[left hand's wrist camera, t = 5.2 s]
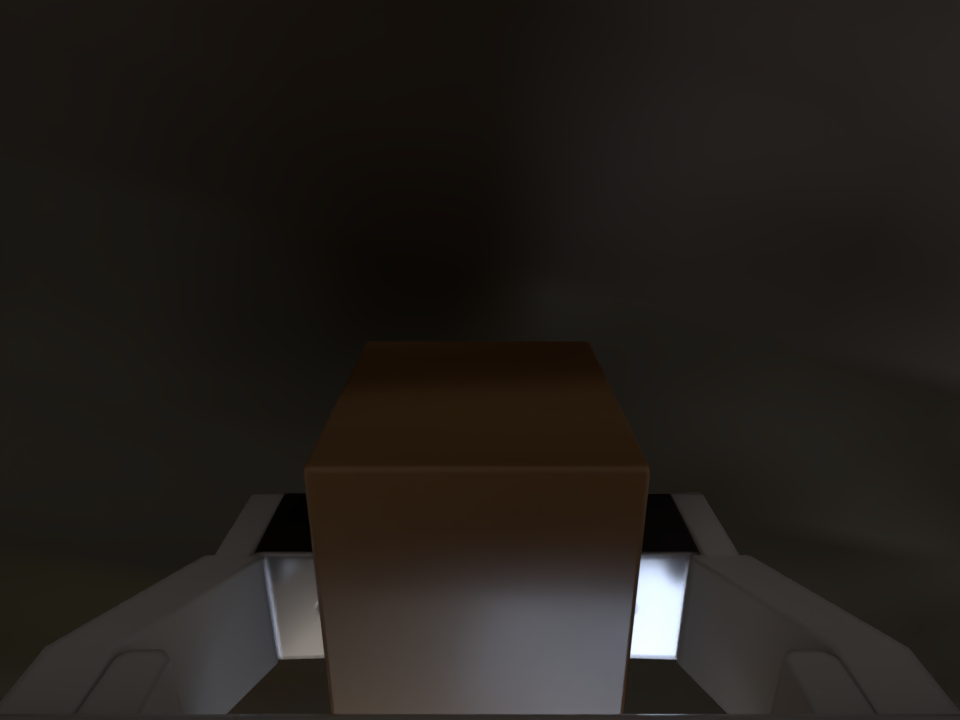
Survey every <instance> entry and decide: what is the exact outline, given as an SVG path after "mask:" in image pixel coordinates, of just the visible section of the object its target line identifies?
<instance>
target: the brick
mask: <svg viewBox="0 0 960 720" xmlns="http://www.w3.org/2000/svg"><path fill="white" fill-rule="evenodd" d="M650 471H651V470H650V468H649V465H648V463H647V461H646V459H645V457H644V455H643V453H642V451H641V449H640V447H639V445H638V443H637V441H636V438H635V436H634V434H633V432H632V430H631V428H630V426H629V424H628V422H627V420H626V418H625V416H624V414H623V412H622V410H621V408H620V405H619V403H618V401H617V399H616V397H615V395H614V393H613V391H612V389H611V387H610V385H609V383H608V381H607V379H606V377H605V375H604V372H603V370H602V368H601V366H600V364H599V362H598V360H597V358H596V356H595V354H594V352H593V350H592V348H591V346H590V344H589V343H588V342H368V343H366V345H365V347H364V349H363V351H362V353H361V355H360V357H359V359H358V361H357V363H356V365H355V367H354V369H353V371H352V373H351V375H350V377H349V379H348V381H347V383H346V385H345V387H344V389H343V391H342V393H341V395H340V397H339V399H338V401H337V403H336V405H335V407H334V409H333V411H332V413H331V415H330V417H329V419H328V421H327V423H326V425H325V427H324V429H323V431H322V433H321V435H320V437H319V439H318V441H317V443H316V445H315V447H314V449H313V451H312V453H311V455H310V457H309V459H308V461H307V463H306V465H305V467H304V470H303V473H304V482H305V491H306V499H307V508H308V517H309V526H310V534H311V543H312V552H313V561H314V570H315V578H316V587H317V596H318V605H319V614H320V622H321V631H322V640H323V649H324V657H325V666H326V675H327V684H328V693H329V701H330V710H331V714H624V708H625V699H626V690H627V681H628V672H629V663H630V654H631V644H632V635H633V626H634V617H635V608H636V599H637V590H638V581H639V571H640V562H641V553H642V544H643V535H644V526H645V517H646V507H647V498H648V489H649V480H650Z"/></svg>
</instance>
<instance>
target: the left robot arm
mask: <svg viewBox="0 0 960 720" xmlns="http://www.w3.org/2000/svg"><path fill="white" fill-rule="evenodd" d="M307 658H325V657H324V649H323V640H322V631H321V622H320V614H319V605H318V596H317V587H316V578H315V570H314V561H313V552H312V543H311V534H310V526H309V517H308V508H307V499H306V493H288V494H286V493H256V494H254V495H252V496H251V497H250V498H249V500H248V501H247V503H246V505H245V506H244V508H243V510H242V511H241V513H240V514H239V516H238V518H237V519H236V521H235V523H234V524H233V526H232V528H231V529H230V531H229V532H228V534H227V536H226V537H225V539H224V541H223V542H222V544H221V546H220V547H219V549H218V550H217V552H216V554H215V555H205V556H203V557H201V558H199V559H198V560H196V561H194V562H192V563H191V564H189V565H187V566H186V567H184V568H182V569H180V570H179V571H177V572H175V573H173V574H172V575H170V576H168V577H166V578H165V579H163V580H161V581H159V582H158V583H156V584H154V585H152V586H151V587H149V588H147V589H145V590H144V591H142V592H140V593H138V594H137V595H135V596H133V597H131V598H130V599H128V600H126V601H124V602H123V603H121V604H119V605H118V606H116V607H114V608H112V609H111V610H109V611H107V612H105V613H104V614H102V615H100V616H98V617H97V618H95V619H93V620H91V621H90V622H88V623H86V624H84V625H83V626H81V627H79V628H77V629H76V630H74V631H72V632H70V633H69V634H67V635H65V636H63V637H62V638H60V639H58V640H56V641H55V642H53V643H51V644H50V645H48V646H46V647H45V648H44V649H43V650H42V652H41V653H40V654H39V655H38V656H37V658H36V659H35V660H34V661H33V663H32V664H31V665H30V666H29V667H28V669H27V670H26V671H25V672H24V673H23V675H22V676H21V677H20V678H19V679H18V681H17V682H16V683H15V684H14V686H13V687H12V688H11V689H10V690H9V692H8V693H7V694H6V695H5V696H4V698H3V699H2V700H1V701H0V720H960V711H959V710H958V709H957V707H956V706H955V705H954V704H953V703H952V701H951V700H950V699H949V698H948V696H947V695H946V694H945V693H944V691H943V690H942V689H941V688H940V686H939V685H938V684H937V683H936V681H935V680H934V679H933V678H932V676H931V675H930V674H929V673H928V672H927V670H926V669H925V668H924V667H923V665H922V664H921V663H920V662H919V660H918V659H917V658H916V657H915V655H914V654H913V653H912V652H911V650H910V649H909V648H908V647H906V646H904V645H903V644H901V643H899V642H897V641H896V640H894V639H892V638H891V637H889V636H887V635H885V634H884V633H882V632H880V631H879V630H877V629H875V628H873V627H872V626H870V625H868V624H866V623H865V622H863V621H861V620H860V619H858V618H856V617H854V616H853V615H851V614H849V613H848V612H846V611H844V610H842V609H841V608H839V607H837V606H835V605H834V604H832V603H830V602H829V601H827V600H825V599H823V598H822V597H820V596H818V595H817V594H815V593H813V592H811V591H810V590H808V589H806V588H804V587H803V586H801V585H799V584H798V583H796V582H794V581H792V580H791V579H789V578H787V577H786V576H784V575H782V574H780V573H779V572H777V571H775V570H773V569H772V568H770V567H768V566H767V565H765V564H763V563H761V562H760V561H758V560H756V559H755V558H753V557H751V556H749V555H739V554H738V552H737V550H736V549H735V547H734V545H733V544H732V542H731V540H730V539H729V537H728V535H727V534H726V532H725V530H724V529H723V527H722V526H721V524H720V522H719V521H718V519H717V517H716V516H715V514H714V512H713V511H712V509H711V507H710V506H709V504H708V502H707V501H706V499H705V497H704V496H703V495H702V494H700V493H698V492H696V493H670V494H648V498H647V507H646V517H645V526H644V535H643V544H642V553H641V562H640V571H639V581H638V590H637V599H636V608H635V617H634V626H633V635H632V644H631V654H630V658H646V659H677V663H678V664H679V665H680V666H681V667H682V668H683V669H684V670H685V671H686V672H687V673H688V674H689V675H690V676H691V677H692V678H693V679H694V680H695V681H696V682H697V683H698V684H699V685H700V686H701V687H702V688H703V689H704V690H705V691H706V692H707V693H708V694H709V695H710V696H711V697H712V698H713V699H714V700H715V701H716V702H717V703H718V704H719V705H720V706H721V707H722V708H723V709H724V710H725V711H726V712H727V713H728V714H227V713H228V712H229V711H230V710H231V709H232V708H233V707H234V706H235V705H236V704H237V703H238V702H239V701H240V700H241V699H242V698H243V697H244V696H245V695H246V694H247V693H248V692H249V691H250V690H251V689H252V688H253V687H254V686H255V685H256V684H257V683H258V682H259V681H260V680H261V679H262V678H263V677H264V676H265V675H266V674H267V673H268V672H269V671H270V670H271V669H272V668H273V667H274V666H275V665H276V664H277V663H278V661H277V659H307Z"/></svg>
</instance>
